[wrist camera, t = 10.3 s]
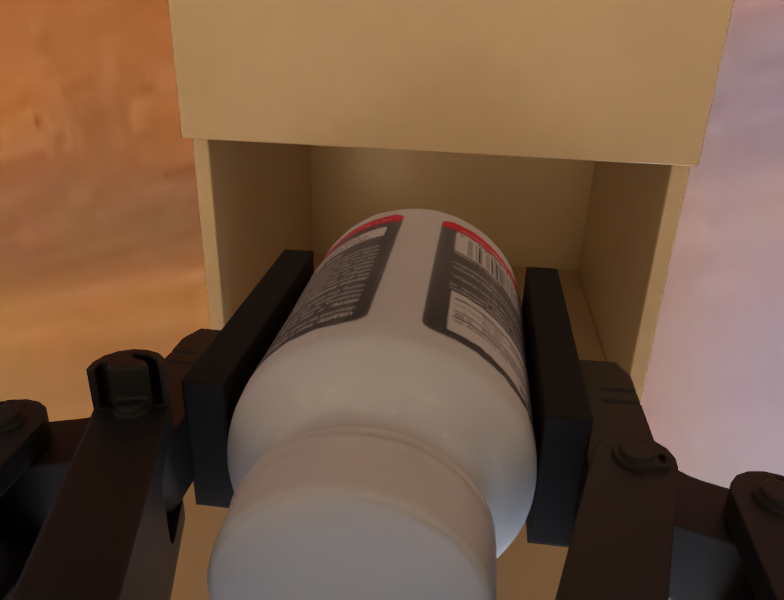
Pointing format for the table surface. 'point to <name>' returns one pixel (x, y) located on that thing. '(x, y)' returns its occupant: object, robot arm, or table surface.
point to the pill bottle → (384, 426)
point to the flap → (514, 566)
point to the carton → (454, 136)
